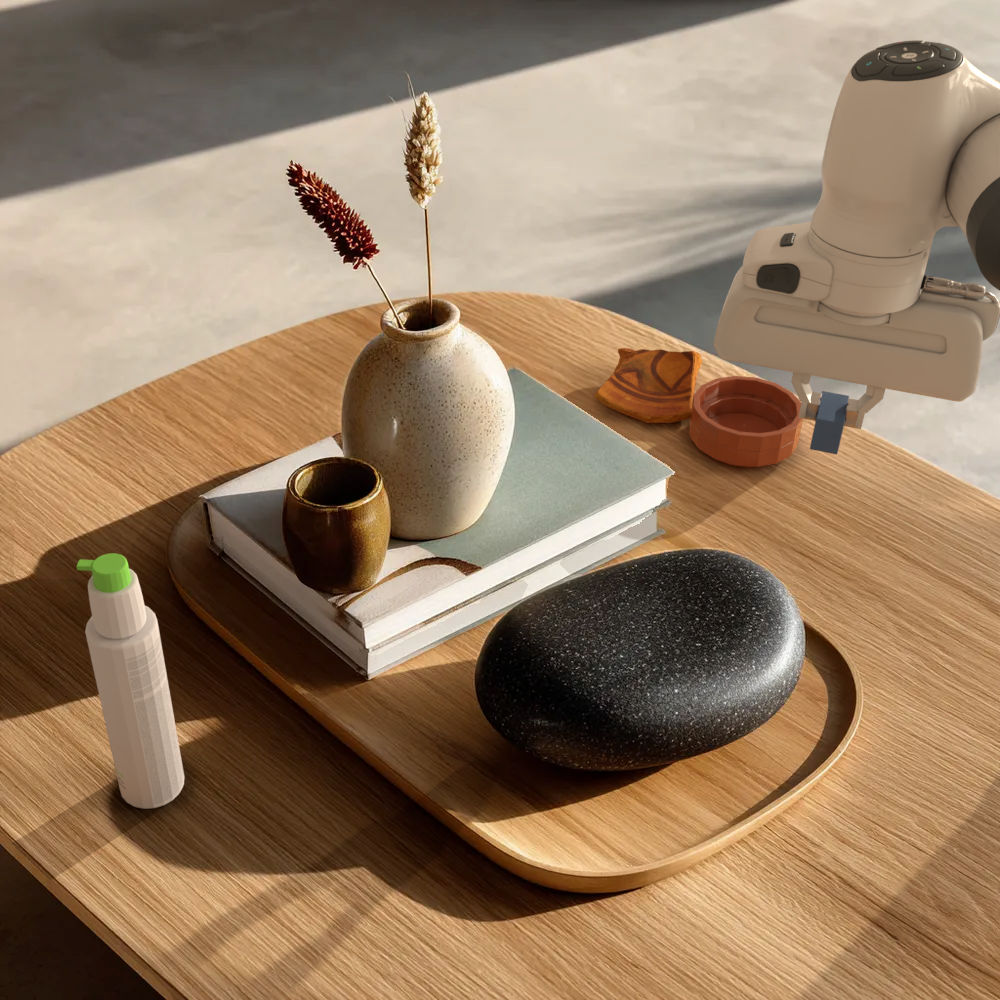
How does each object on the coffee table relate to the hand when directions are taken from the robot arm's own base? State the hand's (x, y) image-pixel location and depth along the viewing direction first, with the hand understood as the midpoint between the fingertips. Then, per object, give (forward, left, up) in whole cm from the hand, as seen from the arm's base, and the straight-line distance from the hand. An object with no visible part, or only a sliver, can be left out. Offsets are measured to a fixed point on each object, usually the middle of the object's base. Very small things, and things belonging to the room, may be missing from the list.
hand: (829, 420), depth 108 cm
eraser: (0, 0, -2) cm, 2 cm away
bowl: (-7, -14, -13) cm, 20 cm away
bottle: (+57, -10, -13) cm, 59 cm away
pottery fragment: (-5, -25, -13) cm, 28 cm away
